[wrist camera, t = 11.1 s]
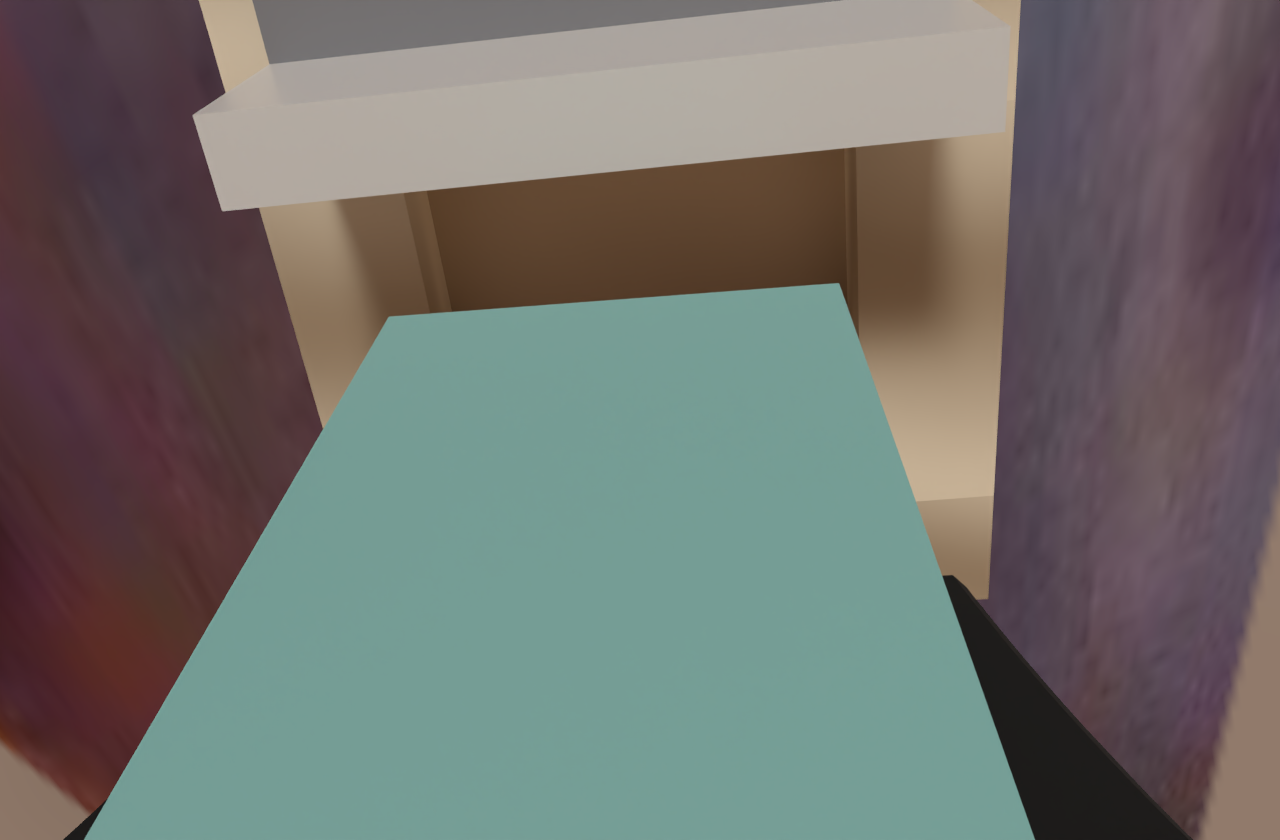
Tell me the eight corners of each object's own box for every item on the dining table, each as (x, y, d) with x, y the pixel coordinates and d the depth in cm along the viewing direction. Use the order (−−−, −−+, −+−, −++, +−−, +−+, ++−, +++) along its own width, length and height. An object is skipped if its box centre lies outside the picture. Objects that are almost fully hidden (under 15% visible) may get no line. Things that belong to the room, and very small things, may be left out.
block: (841, 641, 11) (981, 1338, 6) (463, 662, 12) (290, 1343, 6) (838, 283, 10) (1038, 843, 4) (388, 316, 10) (57, 882, 5)
